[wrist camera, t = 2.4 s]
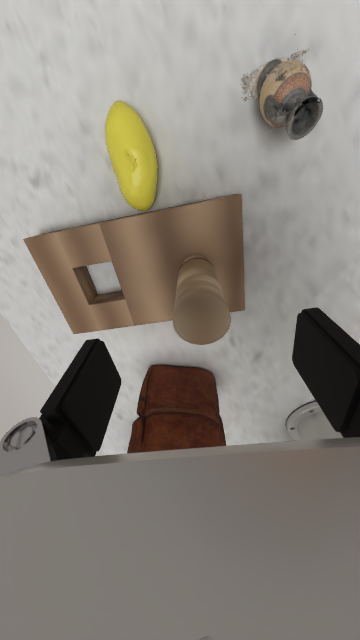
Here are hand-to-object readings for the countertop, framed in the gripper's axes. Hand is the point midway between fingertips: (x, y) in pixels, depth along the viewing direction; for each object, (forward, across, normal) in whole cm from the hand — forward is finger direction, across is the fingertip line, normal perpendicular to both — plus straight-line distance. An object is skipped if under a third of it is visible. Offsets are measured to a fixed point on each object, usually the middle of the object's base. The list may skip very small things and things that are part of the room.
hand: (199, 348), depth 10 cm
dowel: (+14, 0, +1) cm, 14 cm away
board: (+17, +6, +1) cm, 18 cm away
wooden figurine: (+17, +5, +20) cm, 26 cm away
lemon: (+18, +4, -10) cm, 20 cm away
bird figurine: (+18, -9, -11) cm, 22 cm away
